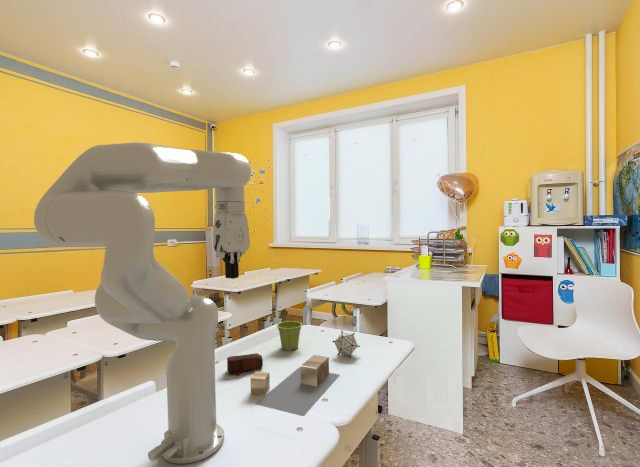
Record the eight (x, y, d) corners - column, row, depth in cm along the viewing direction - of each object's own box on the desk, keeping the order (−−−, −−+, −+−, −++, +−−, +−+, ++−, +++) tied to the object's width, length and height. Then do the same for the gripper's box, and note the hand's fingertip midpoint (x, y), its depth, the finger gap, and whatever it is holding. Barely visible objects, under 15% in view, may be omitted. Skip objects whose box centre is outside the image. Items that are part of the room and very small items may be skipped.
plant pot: (281, 342, 134) (281, 320, 134) (305, 343, 132) (304, 321, 132) (273, 351, 125) (273, 327, 125) (298, 352, 123) (298, 328, 123)
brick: (228, 376, 105) (228, 361, 105) (227, 371, 109) (226, 356, 109) (263, 370, 109) (262, 356, 109) (260, 365, 113) (260, 351, 113)
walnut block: (316, 368, 97) (328, 357, 105) (300, 366, 99) (313, 354, 107) (316, 386, 97) (329, 373, 105) (300, 383, 99) (314, 370, 107)
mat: (303, 417, 82) (303, 415, 82) (255, 405, 88) (255, 403, 88) (340, 375, 104) (340, 374, 104) (299, 368, 110) (299, 367, 110)
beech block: (265, 397, 92) (264, 378, 92) (250, 396, 93) (250, 377, 93) (269, 390, 96) (269, 372, 96) (256, 389, 97) (255, 371, 97)
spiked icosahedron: (351, 364, 121) (368, 342, 120) (340, 364, 114) (358, 340, 114) (335, 346, 126) (351, 325, 126) (323, 345, 120) (340, 322, 119)
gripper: (222, 208, 83) (224, 283, 84) (258, 209, 97) (259, 274, 97) (198, 208, 86) (200, 281, 87) (236, 210, 100) (238, 273, 100)
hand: (232, 277), depth 92 cm, fingers closed
